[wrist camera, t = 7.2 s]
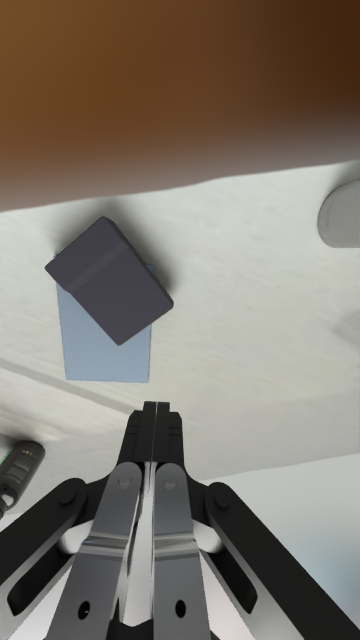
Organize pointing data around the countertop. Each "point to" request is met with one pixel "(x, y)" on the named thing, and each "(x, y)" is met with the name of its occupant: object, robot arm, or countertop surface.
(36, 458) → the supplement bottle
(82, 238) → the dark grey boxy piece
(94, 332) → the mat
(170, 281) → the countertop surface
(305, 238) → the countertop surface
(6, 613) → the robot arm
